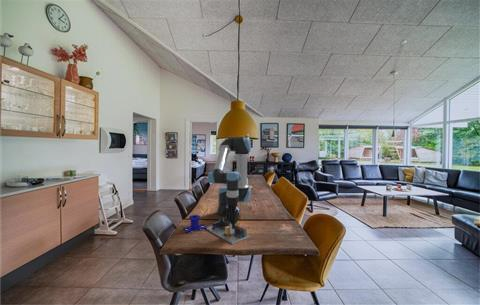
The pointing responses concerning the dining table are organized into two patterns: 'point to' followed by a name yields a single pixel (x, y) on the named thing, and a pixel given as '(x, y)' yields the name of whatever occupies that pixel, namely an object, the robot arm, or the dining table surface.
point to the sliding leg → (227, 229)
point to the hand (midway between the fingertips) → (232, 233)
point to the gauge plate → (237, 236)
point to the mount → (194, 224)
